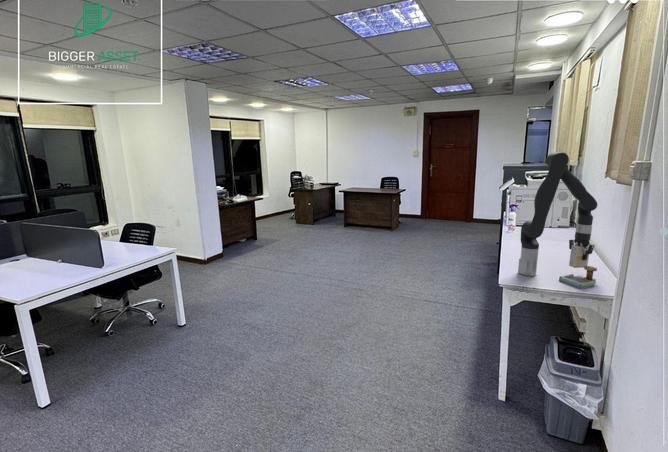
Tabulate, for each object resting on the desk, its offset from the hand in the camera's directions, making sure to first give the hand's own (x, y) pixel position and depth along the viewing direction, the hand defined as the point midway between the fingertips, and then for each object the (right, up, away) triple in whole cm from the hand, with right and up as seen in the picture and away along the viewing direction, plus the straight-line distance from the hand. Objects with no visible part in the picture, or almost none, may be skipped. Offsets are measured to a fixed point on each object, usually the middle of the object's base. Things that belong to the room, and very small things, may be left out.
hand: (579, 258), depth 200 cm
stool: (+1, -12, -7) cm, 14 cm away
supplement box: (0, -5, +1) cm, 5 cm away
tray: (-9, -13, -10) cm, 19 cm away
